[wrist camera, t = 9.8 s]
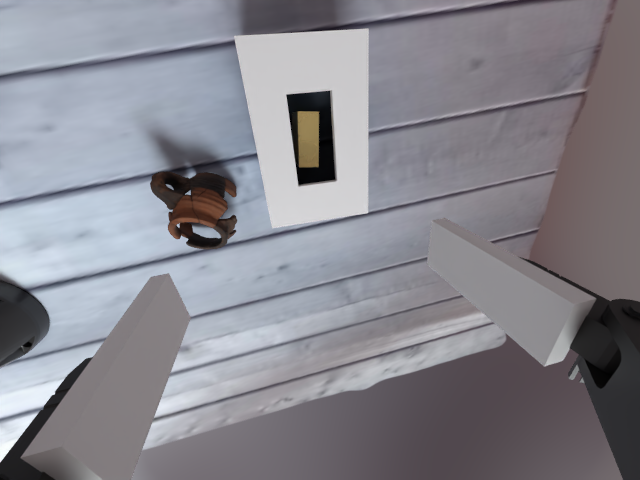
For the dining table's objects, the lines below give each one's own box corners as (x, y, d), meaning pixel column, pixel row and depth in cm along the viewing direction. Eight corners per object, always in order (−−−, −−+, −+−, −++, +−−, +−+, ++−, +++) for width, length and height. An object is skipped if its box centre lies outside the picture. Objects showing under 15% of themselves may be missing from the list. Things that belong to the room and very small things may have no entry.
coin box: (271, 203, 37) (272, 228, 29) (244, 61, 29) (234, 35, 20) (345, 192, 39) (368, 213, 30) (339, 54, 31) (368, 28, 22)
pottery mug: (256, 194, 37) (247, 238, 32) (221, 219, 42) (208, 260, 37) (178, 138, 29) (152, 185, 25) (146, 176, 34) (118, 221, 29)
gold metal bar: (293, 159, 35) (299, 167, 29) (291, 113, 33) (297, 111, 27) (309, 158, 36) (318, 166, 30) (309, 113, 33) (319, 111, 27)
